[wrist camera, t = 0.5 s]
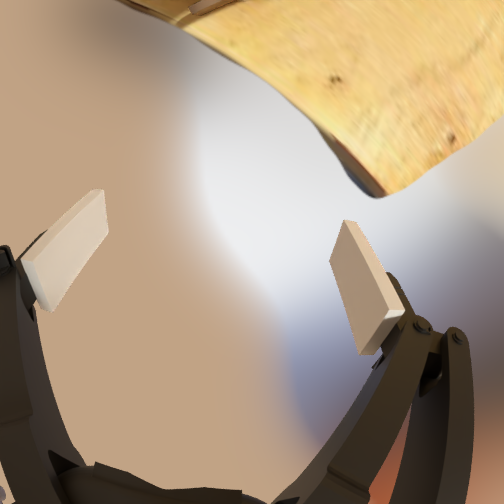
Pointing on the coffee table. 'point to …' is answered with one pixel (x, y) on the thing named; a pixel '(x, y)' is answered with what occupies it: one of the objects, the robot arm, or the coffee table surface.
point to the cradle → (207, 6)
